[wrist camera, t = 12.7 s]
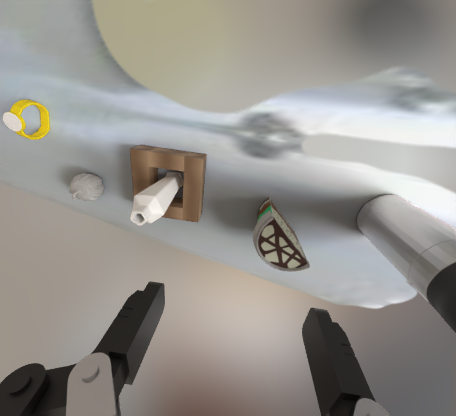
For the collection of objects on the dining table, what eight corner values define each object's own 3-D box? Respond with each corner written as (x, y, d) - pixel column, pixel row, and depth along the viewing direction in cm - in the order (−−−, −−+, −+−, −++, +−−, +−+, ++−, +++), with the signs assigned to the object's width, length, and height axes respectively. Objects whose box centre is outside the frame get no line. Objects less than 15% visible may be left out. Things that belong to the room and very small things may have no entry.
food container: (239, 208, 41) (238, 236, 32) (265, 191, 39) (271, 216, 30) (272, 249, 45) (279, 284, 36) (297, 235, 43) (311, 269, 34)
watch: (55, 137, 38) (25, 145, 33) (40, 132, 37) (7, 139, 32) (52, 103, 35) (17, 105, 30) (35, 97, 34) (-3, 98, 29)
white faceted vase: (158, 173, 39) (113, 207, 26) (178, 166, 38) (143, 198, 25) (168, 194, 41) (130, 236, 27) (188, 188, 40) (160, 229, 26)
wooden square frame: (206, 154, 37) (202, 159, 33) (201, 212, 42) (198, 222, 38) (140, 144, 37) (129, 148, 33) (144, 204, 42) (135, 213, 39)
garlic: (92, 199, 43) (73, 211, 38) (74, 176, 41) (52, 185, 36) (114, 190, 41) (98, 200, 37) (97, 165, 39) (78, 173, 35)
